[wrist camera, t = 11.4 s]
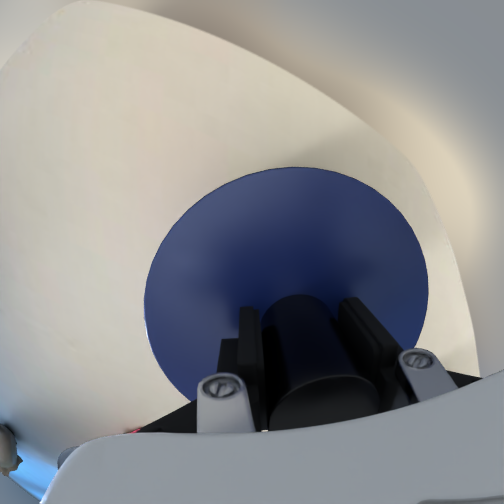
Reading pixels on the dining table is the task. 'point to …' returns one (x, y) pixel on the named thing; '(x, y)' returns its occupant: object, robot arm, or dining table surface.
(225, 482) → the robot arm
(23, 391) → the dining table surface
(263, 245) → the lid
